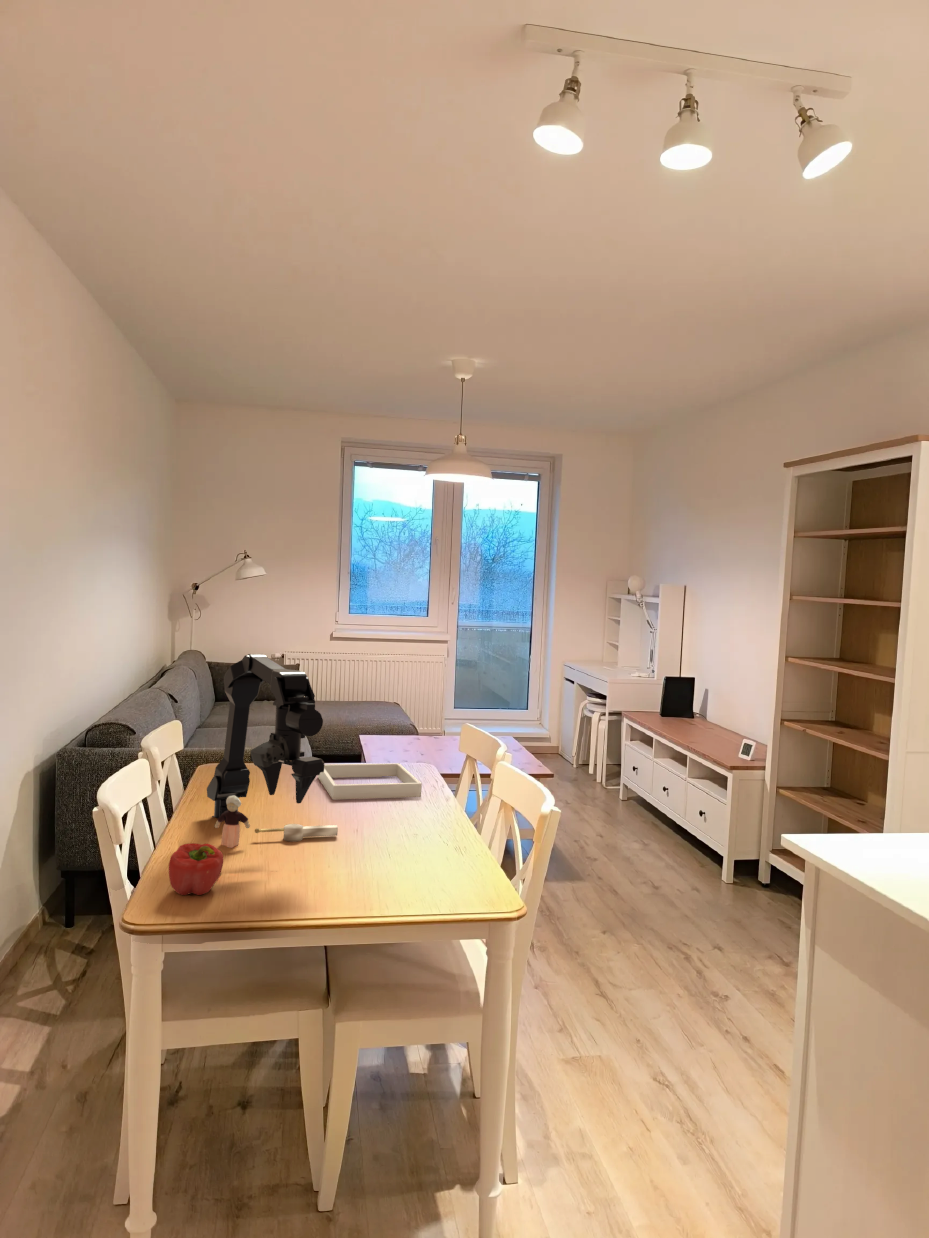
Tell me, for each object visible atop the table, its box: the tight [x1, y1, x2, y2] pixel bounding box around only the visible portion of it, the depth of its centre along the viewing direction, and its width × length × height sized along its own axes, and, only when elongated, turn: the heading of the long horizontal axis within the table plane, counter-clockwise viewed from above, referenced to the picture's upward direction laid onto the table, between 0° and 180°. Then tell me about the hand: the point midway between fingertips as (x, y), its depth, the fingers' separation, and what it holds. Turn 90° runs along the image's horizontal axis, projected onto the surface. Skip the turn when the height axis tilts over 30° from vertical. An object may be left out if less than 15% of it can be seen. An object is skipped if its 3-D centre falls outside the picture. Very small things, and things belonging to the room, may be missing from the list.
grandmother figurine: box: [214, 795, 251, 848], centre depth 185 cm, size 8×4×13 cm, turn 105°
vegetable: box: [168, 843, 224, 896], centre depth 161 cm, size 11×10×10 cm
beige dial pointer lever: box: [254, 823, 339, 843], centre depth 192 cm, size 19×4×3 cm, turn 109°
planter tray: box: [317, 762, 423, 801], centre depth 249 cm, size 26×26×4 cm
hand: (285, 798), depth 182 cm, fingers open, 9 cm apart
